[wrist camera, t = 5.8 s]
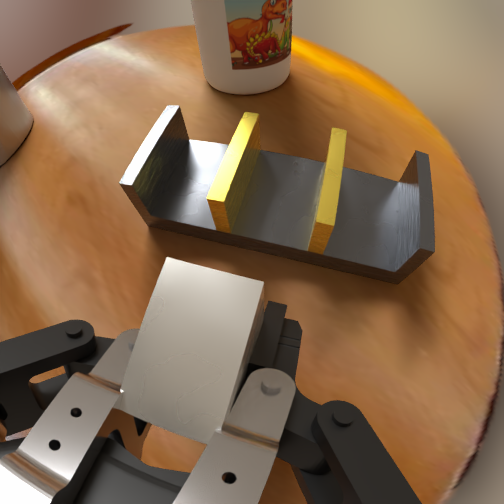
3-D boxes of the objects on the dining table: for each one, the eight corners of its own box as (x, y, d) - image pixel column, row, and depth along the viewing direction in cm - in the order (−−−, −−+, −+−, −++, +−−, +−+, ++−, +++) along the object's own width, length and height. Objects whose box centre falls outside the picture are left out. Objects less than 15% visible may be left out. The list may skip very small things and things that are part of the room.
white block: (222, 332, 15) (166, 257, 7) (263, 343, 15) (264, 281, 6) (202, 396, 14) (114, 407, 5) (245, 409, 13) (215, 446, 5)
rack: (183, 153, 20) (167, 105, 16) (401, 198, 18) (428, 154, 14) (147, 225, 18) (119, 183, 14) (397, 284, 16) (434, 252, 12)
